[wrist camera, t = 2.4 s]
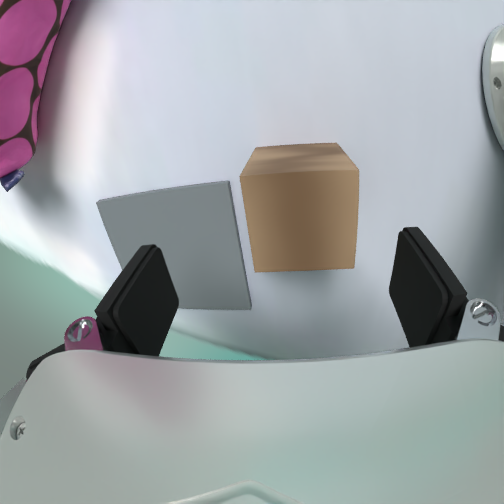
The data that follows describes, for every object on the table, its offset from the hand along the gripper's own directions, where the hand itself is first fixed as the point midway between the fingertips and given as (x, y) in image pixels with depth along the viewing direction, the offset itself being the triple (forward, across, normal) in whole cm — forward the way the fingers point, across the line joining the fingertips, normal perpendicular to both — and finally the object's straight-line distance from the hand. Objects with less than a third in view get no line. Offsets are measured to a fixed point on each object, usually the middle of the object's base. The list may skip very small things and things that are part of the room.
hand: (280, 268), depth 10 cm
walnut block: (+9, -1, 0) cm, 9 cm away
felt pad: (+9, +9, +4) cm, 13 cm away
